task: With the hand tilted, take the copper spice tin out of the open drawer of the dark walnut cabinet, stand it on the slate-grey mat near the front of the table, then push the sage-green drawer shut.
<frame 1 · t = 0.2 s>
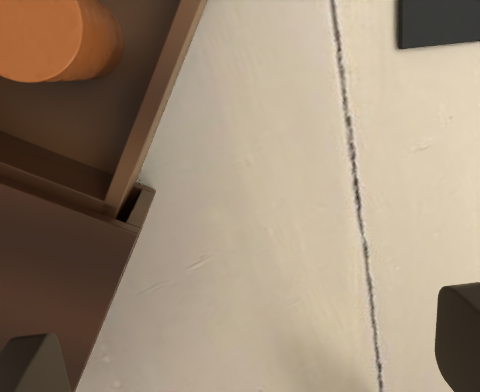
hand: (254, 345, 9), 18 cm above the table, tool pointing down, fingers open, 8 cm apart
drawer: (80, 19, 20), point 4 cm above the table, slide at 13.0 cm, touching spice tin
spice tin: (84, 39, 21), point 2 cm above the table, touching drawer
cabinet: (18, 261, 27), on the table
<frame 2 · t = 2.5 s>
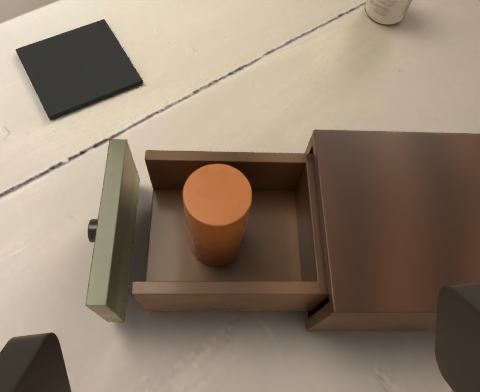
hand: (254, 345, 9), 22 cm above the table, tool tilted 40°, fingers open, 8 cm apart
mat: (79, 68, 40), on the table
drawer: (204, 231, 29), point 4 cm above the table, slide at 13.0 cm, touching spice tin
spice tin: (216, 240, 31), point 2 cm above the table, touching drawer
pill bottle: (383, 13, 46), on the table
cabinet: (394, 250, 34), on the table
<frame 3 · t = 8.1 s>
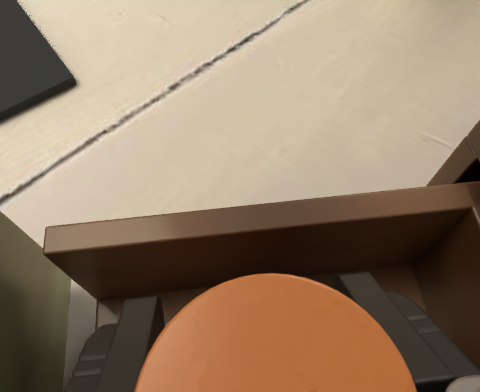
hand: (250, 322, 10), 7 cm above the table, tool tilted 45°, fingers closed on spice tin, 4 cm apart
when the fingers open (5 cm above the table, at t = 17.6 s): spice tin stays where it is, resting on mat.
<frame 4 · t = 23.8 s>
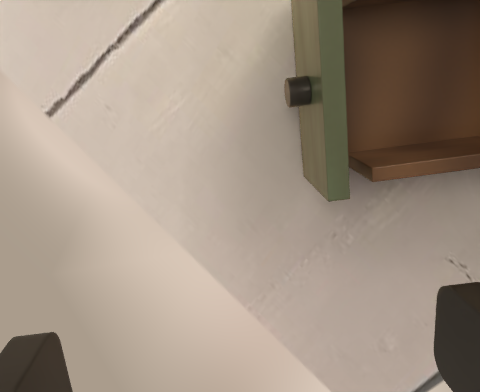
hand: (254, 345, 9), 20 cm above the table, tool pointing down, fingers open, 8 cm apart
drawer: (423, 76, 24), point 4 cm above the table, slide at 13.0 cm
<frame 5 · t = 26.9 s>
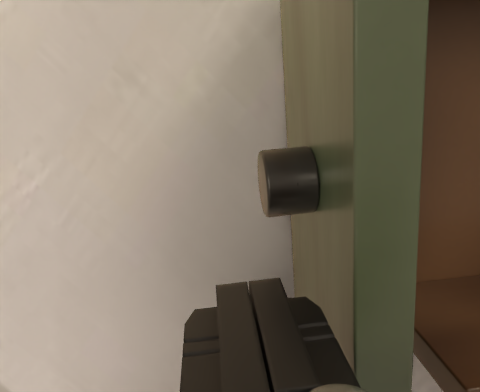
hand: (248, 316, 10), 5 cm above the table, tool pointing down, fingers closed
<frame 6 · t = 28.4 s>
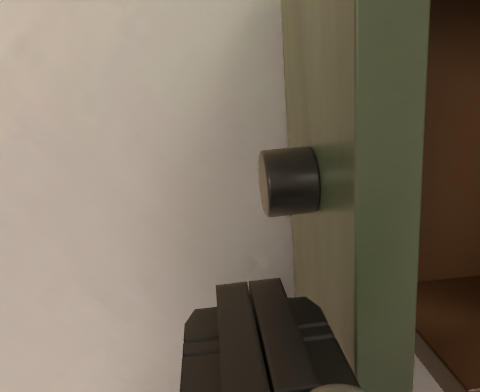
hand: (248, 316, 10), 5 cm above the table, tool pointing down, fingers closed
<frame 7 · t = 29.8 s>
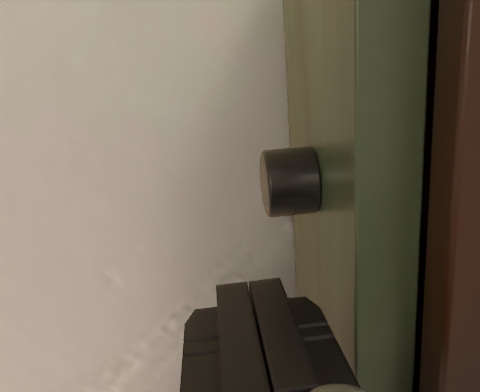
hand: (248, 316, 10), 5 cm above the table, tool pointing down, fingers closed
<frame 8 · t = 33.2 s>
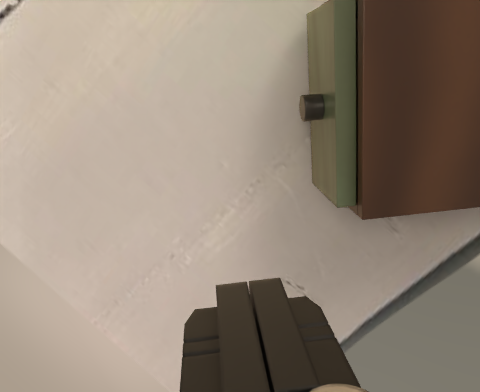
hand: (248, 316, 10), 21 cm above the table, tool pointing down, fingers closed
drawer: (424, 97, 26), point 4 cm above the table, slide at 0.0 cm
cabinet: (429, 91, 30), on the table
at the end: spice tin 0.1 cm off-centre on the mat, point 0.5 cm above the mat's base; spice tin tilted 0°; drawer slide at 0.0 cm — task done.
